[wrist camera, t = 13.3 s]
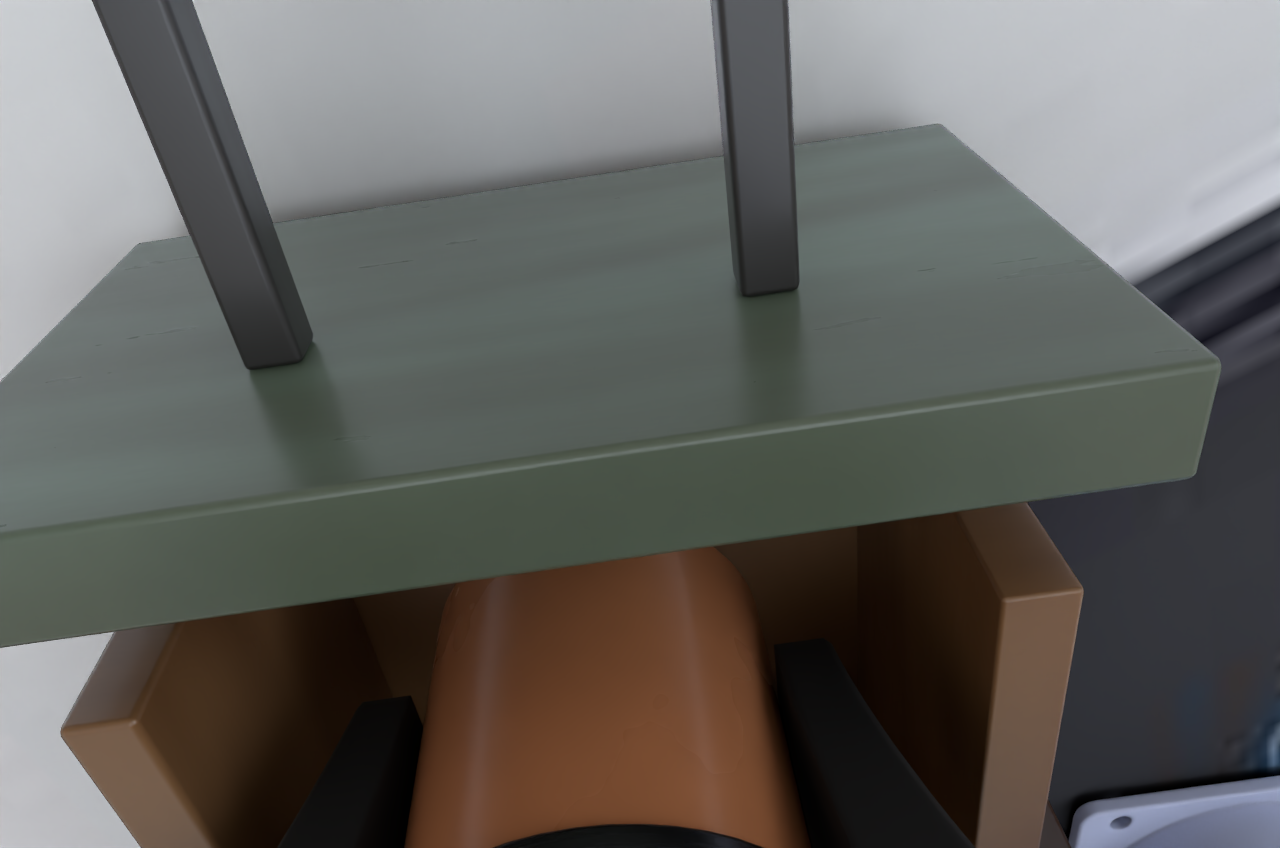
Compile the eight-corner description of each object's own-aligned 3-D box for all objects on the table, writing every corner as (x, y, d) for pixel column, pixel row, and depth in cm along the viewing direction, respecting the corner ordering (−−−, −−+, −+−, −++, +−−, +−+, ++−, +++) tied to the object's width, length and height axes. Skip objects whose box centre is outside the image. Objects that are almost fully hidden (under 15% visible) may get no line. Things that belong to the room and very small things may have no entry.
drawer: (-45, -155, 11) (-744, -115, 5) (960, -314, 10) (1430, -465, 5) (383, 788, 20) (310, 1174, 14) (915, 715, 20) (1053, 1077, 14)
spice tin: (753, 483, 12) (854, 853, 8) (773, 724, 14) (857, 1102, 10) (392, 535, 12) (295, 928, 8) (474, 764, 14) (435, 1156, 10)
